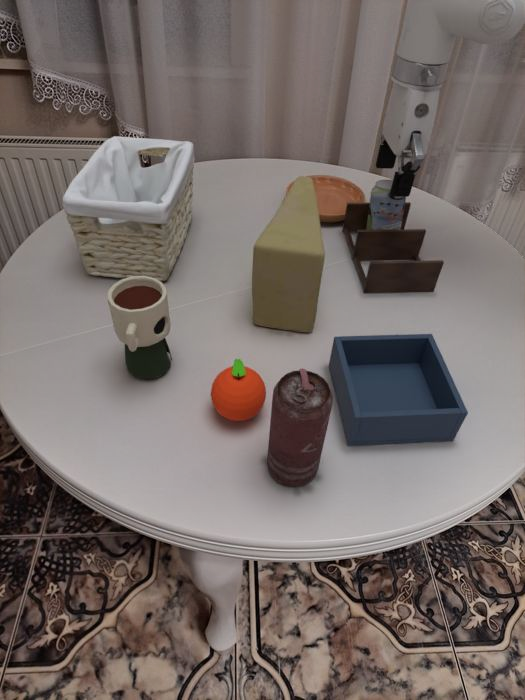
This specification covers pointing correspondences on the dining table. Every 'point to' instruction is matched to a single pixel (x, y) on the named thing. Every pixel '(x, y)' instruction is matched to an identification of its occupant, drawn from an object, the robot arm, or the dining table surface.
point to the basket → (132, 207)
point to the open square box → (394, 390)
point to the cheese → (289, 263)
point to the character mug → (142, 324)
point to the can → (298, 426)
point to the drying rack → (389, 254)
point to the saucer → (334, 196)
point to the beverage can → (385, 208)
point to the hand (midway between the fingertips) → (391, 181)
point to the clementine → (238, 392)
